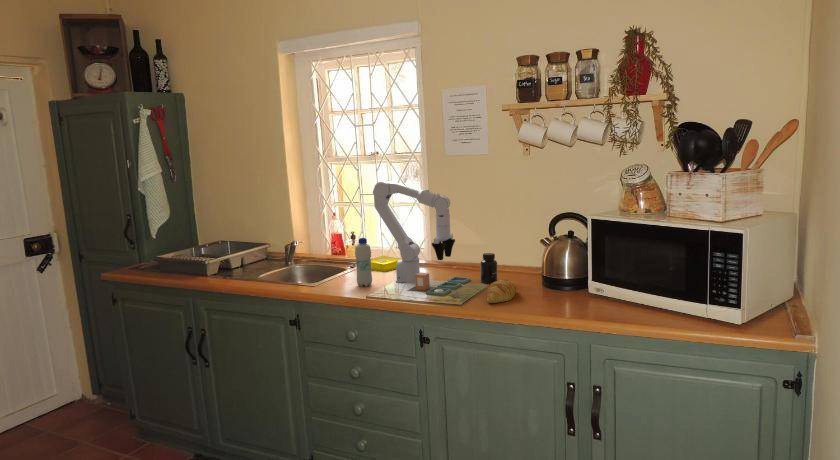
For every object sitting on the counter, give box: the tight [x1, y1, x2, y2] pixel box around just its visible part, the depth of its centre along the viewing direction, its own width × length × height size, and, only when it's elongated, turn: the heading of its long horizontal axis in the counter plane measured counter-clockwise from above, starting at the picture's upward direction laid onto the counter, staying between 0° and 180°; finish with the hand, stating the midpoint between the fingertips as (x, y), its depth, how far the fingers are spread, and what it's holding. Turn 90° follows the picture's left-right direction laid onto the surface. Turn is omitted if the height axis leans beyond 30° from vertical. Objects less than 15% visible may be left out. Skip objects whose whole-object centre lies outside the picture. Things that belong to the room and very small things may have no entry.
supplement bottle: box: [480, 252, 498, 285], centre depth 233 cm, size 7×7×12 cm
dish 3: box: [446, 276, 471, 285], centre depth 236 cm, size 7×7×1 cm
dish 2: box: [436, 281, 462, 291], centre depth 227 cm, size 7×7×1 cm
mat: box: [407, 285, 437, 293], centre depth 226 cm, size 9×9×1 cm
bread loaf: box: [486, 279, 517, 304], centre depth 209 cm, size 21×10×8 cm, turn 149°
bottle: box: [354, 237, 373, 288], centre depth 236 cm, size 7×7×20 cm
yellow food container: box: [371, 255, 402, 273], centre depth 273 cm, size 15×15×5 cm
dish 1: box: [425, 288, 452, 297], centre depth 219 cm, size 7×7×1 cm
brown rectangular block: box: [415, 271, 431, 290], centre depth 226 cm, size 4×4×6 cm
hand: (444, 258), depth 237 cm, fingers open, 7 cm apart
